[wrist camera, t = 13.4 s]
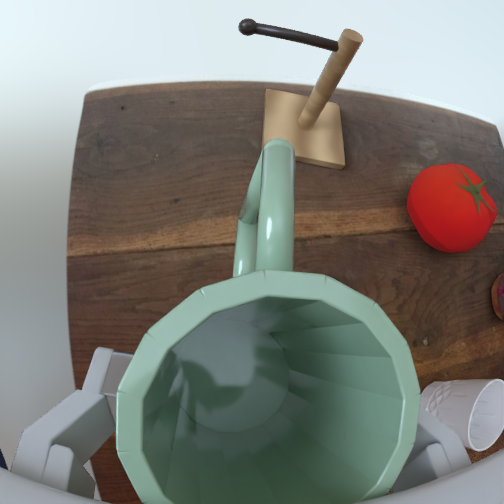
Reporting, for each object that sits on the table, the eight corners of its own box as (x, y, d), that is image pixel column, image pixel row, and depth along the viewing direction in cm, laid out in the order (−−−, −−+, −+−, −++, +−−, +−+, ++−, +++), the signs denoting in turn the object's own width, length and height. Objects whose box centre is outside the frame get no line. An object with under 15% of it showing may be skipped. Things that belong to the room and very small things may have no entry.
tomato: (459, 272, 37) (514, 253, 27) (389, 246, 36) (444, 217, 26) (458, 201, 40) (504, 173, 31) (393, 169, 39) (437, 129, 29)
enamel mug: (290, 437, 13) (396, 528, 5) (160, 432, 12) (123, 546, 4) (301, 233, 16) (404, 130, 7) (179, 218, 15) (169, 82, 6)
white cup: (409, 384, 32) (469, 392, 22) (453, 369, 33) (511, 370, 24) (410, 443, 30) (465, 463, 20) (453, 423, 31) (508, 434, 22)
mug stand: (335, 109, 40) (388, 25, 25) (341, 170, 37) (412, 87, 22) (226, 88, 38) (246, -14, 22) (217, 149, 35) (236, 39, 20)
